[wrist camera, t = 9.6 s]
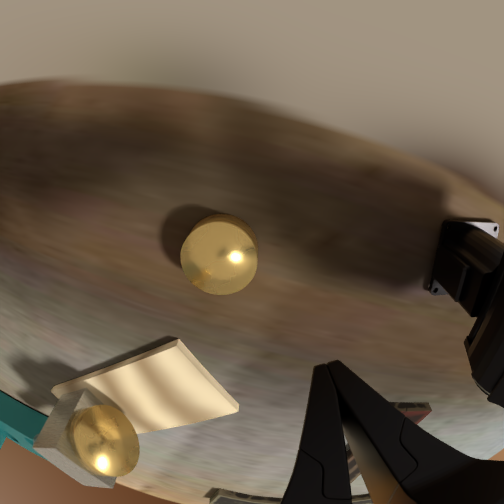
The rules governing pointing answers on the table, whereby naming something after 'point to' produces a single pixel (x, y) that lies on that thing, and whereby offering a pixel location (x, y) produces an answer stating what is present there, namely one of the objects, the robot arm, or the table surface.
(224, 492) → the cross
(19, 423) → the teal saddle bracket
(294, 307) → the table surface
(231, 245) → the spacer
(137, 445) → the shaft
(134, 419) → the board
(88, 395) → the bearing block
